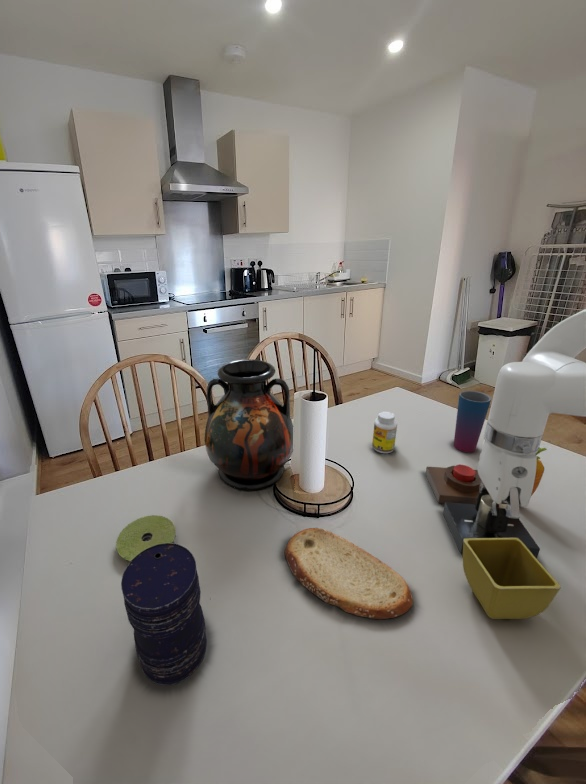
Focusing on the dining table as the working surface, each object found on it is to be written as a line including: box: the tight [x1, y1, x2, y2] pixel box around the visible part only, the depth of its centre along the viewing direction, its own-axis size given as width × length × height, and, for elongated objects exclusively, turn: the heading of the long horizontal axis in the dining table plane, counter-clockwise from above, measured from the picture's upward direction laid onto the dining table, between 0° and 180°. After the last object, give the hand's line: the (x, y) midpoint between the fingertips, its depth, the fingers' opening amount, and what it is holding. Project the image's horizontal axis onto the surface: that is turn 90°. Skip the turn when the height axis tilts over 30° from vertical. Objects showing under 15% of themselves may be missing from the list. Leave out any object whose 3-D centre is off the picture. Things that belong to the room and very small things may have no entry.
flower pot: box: [462, 538, 562, 620], centre depth 54 cm, size 9×9×9 cm
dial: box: [476, 495, 507, 529], centre depth 65 cm, size 4×4×5 cm
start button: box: [453, 464, 475, 482], centre depth 78 cm, size 4×4×2 cm
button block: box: [424, 465, 482, 505], centre depth 79 cm, size 12×10×4 cm
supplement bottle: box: [371, 411, 398, 454], centre depth 94 cm, size 6×6×10 cm
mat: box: [115, 514, 177, 562], centre depth 69 cm, size 11×11×2 cm
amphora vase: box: [204, 358, 294, 493], centre depth 84 cm, size 22×22×28 cm
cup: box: [453, 390, 492, 453], centre depth 92 cm, size 7×7×15 cm
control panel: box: [442, 502, 541, 560], centre depth 67 cm, size 12×10×3 cm
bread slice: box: [284, 527, 414, 620], centre depth 61 cm, size 18×18×4 cm
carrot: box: [519, 446, 548, 506], centre depth 72 cm, size 5×5×15 cm
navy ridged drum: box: [120, 542, 208, 686], centre depth 49 cm, size 10×10×15 cm
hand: (489, 519), depth 66 cm, fingers closed on dial, 4 cm apart
